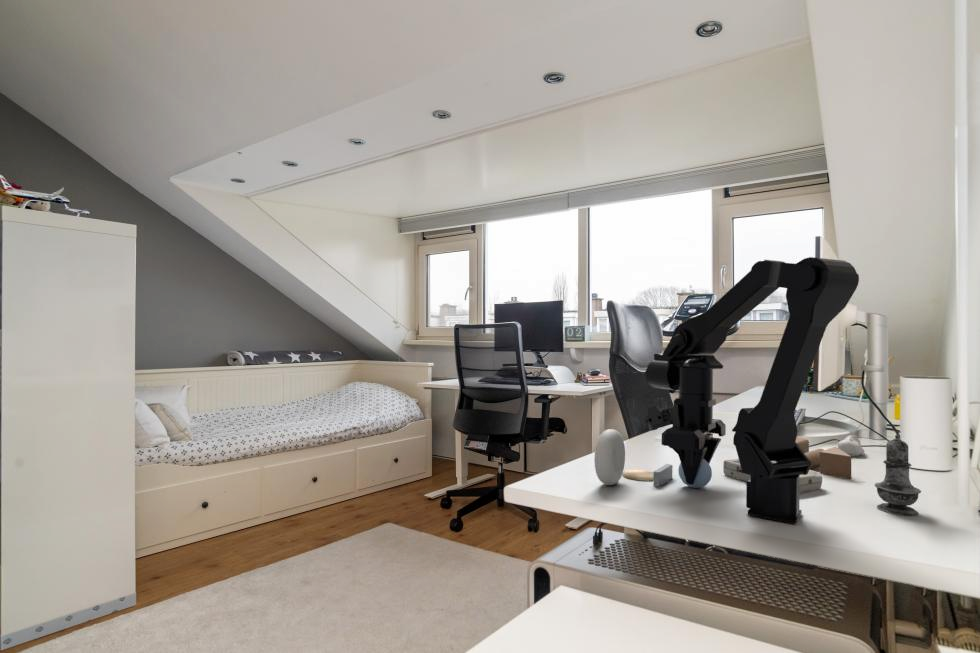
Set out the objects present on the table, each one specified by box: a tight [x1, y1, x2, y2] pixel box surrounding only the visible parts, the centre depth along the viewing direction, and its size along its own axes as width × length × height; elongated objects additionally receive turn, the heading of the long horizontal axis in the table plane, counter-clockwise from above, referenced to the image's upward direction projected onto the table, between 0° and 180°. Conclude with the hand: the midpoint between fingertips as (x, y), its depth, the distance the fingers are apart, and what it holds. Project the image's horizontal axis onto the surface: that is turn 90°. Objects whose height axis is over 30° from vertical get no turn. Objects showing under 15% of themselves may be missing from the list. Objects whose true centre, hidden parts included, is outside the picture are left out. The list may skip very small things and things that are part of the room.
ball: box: [677, 459, 713, 489], centre depth 97 cm, size 6×6×6 cm
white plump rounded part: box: [594, 428, 626, 486], centre depth 98 cm, size 10×4×10 cm, turn 149°
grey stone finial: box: [874, 433, 922, 517], centre depth 86 cm, size 6×6×12 cm
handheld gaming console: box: [722, 458, 823, 494], centre depth 102 cm, size 9×4×15 cm
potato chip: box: [622, 469, 654, 482], centre depth 104 cm, size 7×7×1 cm
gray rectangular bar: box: [652, 463, 673, 487], centre depth 101 cm, size 1×8×2 cm, turn 143°
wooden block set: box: [775, 436, 852, 480], centre depth 116 cm, size 17×6×18 cm
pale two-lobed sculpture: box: [836, 434, 865, 457], centre depth 128 cm, size 4×8×5 cm
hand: (695, 480), depth 97 cm, fingers closed on ball, 6 cm apart
